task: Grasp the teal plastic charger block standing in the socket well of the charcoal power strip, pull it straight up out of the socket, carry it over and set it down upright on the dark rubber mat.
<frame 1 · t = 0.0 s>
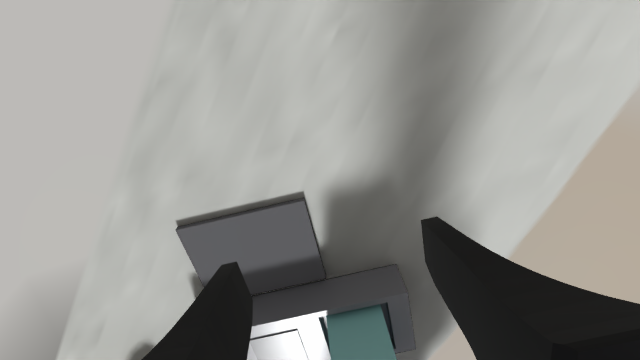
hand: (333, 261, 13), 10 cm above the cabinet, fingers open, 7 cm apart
charger: (356, 322, 26), point 2 cm above the cabinet, touching power strip
power strip: (304, 313, 28), on the cabinet
mat: (255, 252, 25), on the cabinet
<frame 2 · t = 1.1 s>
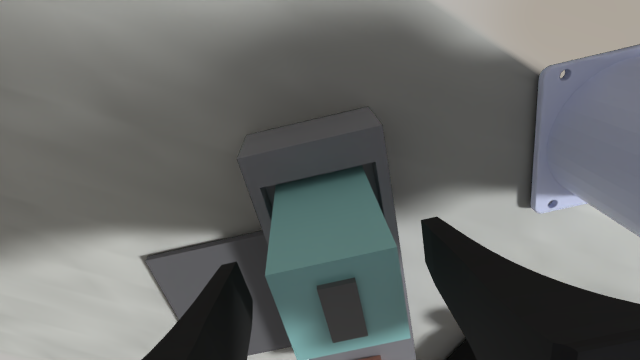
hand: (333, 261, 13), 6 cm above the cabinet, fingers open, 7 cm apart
charger: (327, 211, 16), point 2 cm above the cabinet, touching power strip
power strip: (338, 251, 20), on the cabinet
mat: (234, 300, 21), on the cabinet
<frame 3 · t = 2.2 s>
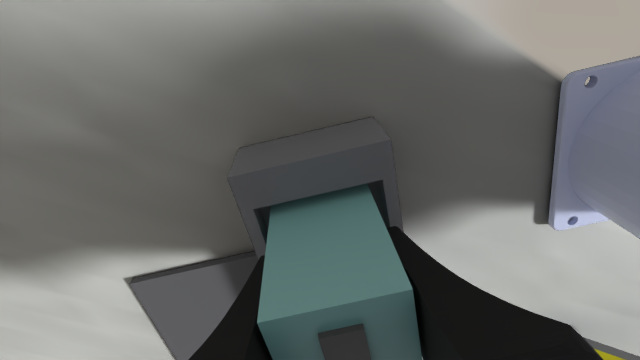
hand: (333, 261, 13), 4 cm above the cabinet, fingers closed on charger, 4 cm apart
charger: (328, 232, 15), point 2 cm above the cabinet, touching gripper, power strip
power strip: (340, 271, 18), on the cabinet
mat: (227, 324, 19), on the cabinet
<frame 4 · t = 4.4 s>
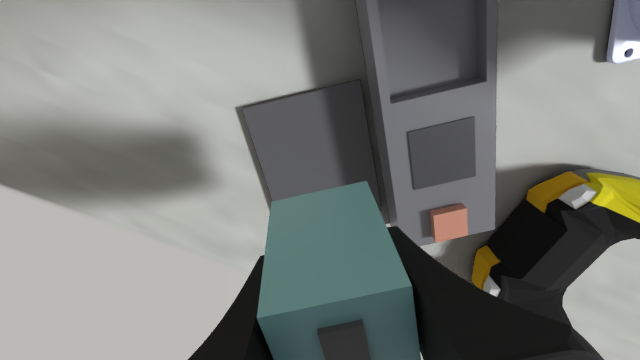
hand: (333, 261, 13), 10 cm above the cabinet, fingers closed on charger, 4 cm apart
charger: (328, 230, 15), point 8 cm above the cabinet, touching gripper
power strip: (421, 106, 21), on the cabinet
gaming controller: (544, 238, 27), on the cabinet
mat: (317, 161, 22), on the cabinet
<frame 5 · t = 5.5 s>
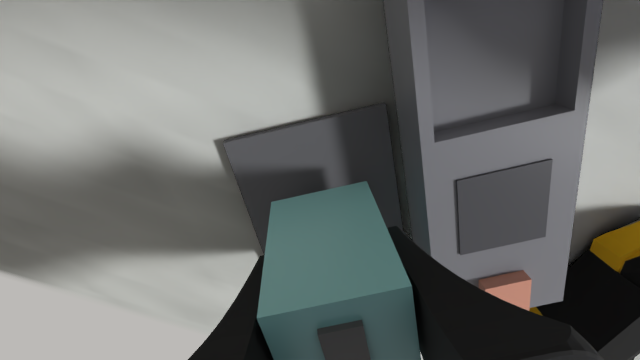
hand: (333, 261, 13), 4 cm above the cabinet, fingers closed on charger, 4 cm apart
charger: (328, 230, 15), point 2 cm above the cabinet, touching gripper
power strip: (466, 138, 15), on the cabinet
gaming controller: (604, 293, 21), on the cabinet
mat: (325, 209, 17), on the cabinet
when the fingers open (3 cm above the cabinet, at t = 6.4 s): charger drops 1 cm, resting on mat.
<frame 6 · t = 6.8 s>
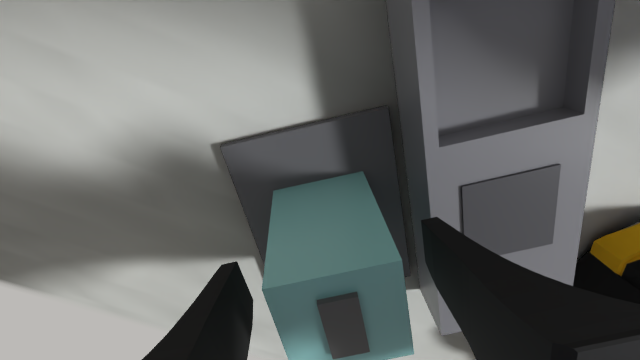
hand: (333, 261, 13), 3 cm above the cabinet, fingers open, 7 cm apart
charger: (326, 218, 16), resting on mat
power strip: (471, 142, 15), on the cabinet
gaming controller: (605, 297, 20), on the cabinet
mat: (325, 214, 16), on the cabinet
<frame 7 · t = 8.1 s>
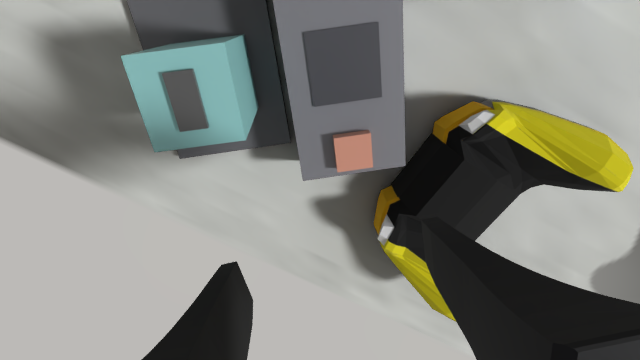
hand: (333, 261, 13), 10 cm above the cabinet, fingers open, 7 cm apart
charger: (216, 76, 19), resting on mat
power strip: (333, 21, 19), on the cabinet
gaming controller: (456, 186, 25), on the cabinet
mat: (217, 76, 20), on the cabinet
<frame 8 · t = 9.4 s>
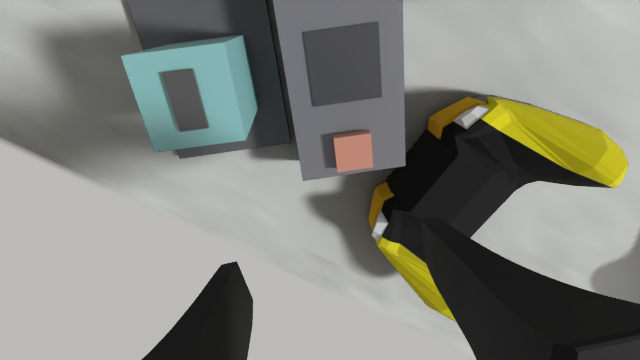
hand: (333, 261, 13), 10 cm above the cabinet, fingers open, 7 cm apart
charger: (216, 76, 19), resting on mat
power strip: (333, 21, 19), on the cabinet
gaming controller: (451, 183, 24), on the cabinet
mat: (217, 76, 20), on the cabinet
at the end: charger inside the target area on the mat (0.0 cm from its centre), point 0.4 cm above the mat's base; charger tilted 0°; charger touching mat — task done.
